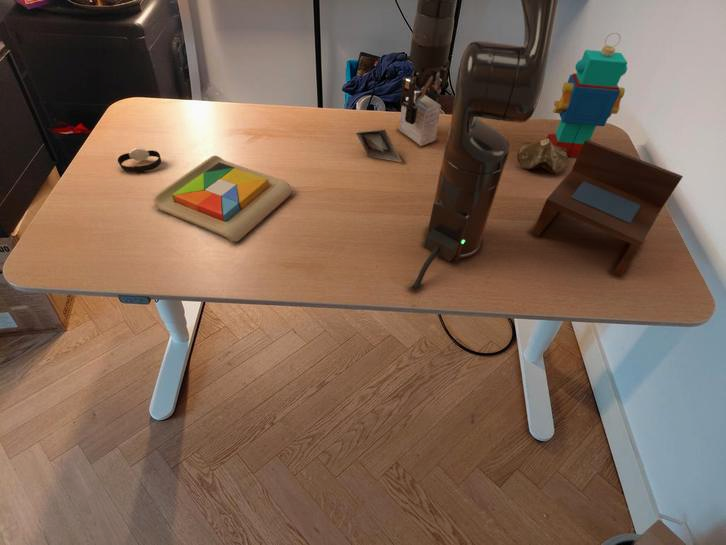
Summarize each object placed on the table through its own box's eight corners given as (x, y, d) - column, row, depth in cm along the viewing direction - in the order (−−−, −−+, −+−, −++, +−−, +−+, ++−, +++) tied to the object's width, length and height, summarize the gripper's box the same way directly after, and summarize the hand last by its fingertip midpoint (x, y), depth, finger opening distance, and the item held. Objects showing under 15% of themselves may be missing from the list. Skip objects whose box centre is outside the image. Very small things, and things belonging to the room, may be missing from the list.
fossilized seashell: (573, 153, 100) (525, 145, 104) (574, 135, 94) (524, 128, 98) (561, 184, 99) (514, 175, 103) (562, 169, 93) (512, 159, 97)
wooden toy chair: (620, 276, 79) (662, 212, 69) (532, 233, 86) (559, 168, 75) (641, 239, 86) (683, 175, 76) (558, 202, 92) (586, 138, 82)
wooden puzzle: (218, 161, 96) (215, 146, 94) (294, 192, 90) (293, 177, 88) (152, 207, 86) (146, 191, 83) (234, 246, 80) (230, 231, 77)
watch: (162, 157, 96) (157, 141, 94) (163, 170, 93) (158, 154, 91) (121, 162, 94) (115, 147, 92) (121, 176, 91) (114, 160, 89)
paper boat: (403, 139, 103) (416, 152, 95) (387, 164, 105) (398, 179, 98) (357, 111, 98) (367, 122, 90) (341, 138, 100) (350, 151, 92)
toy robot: (589, 145, 107) (642, 28, 89) (595, 160, 103) (652, 41, 85) (537, 140, 107) (580, 23, 89) (542, 155, 103) (587, 36, 85)
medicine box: (435, 141, 105) (442, 105, 99) (420, 147, 103) (426, 110, 97) (413, 125, 109) (418, 89, 103) (398, 130, 108) (402, 94, 101)
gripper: (435, 21, 96) (424, 98, 108) (394, 41, 88) (386, 122, 100) (467, 31, 93) (452, 109, 105) (427, 53, 85) (415, 135, 97)
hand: (420, 115), depth 103 cm, fingers open, 7 cm apart
